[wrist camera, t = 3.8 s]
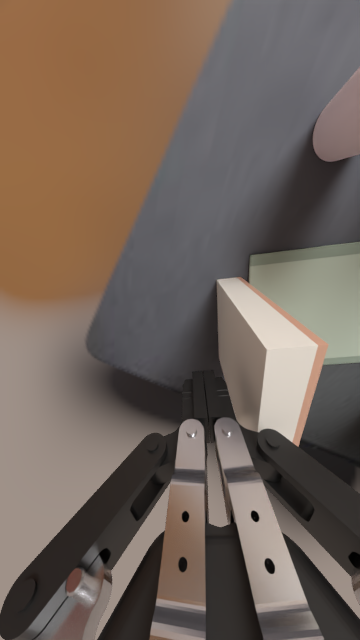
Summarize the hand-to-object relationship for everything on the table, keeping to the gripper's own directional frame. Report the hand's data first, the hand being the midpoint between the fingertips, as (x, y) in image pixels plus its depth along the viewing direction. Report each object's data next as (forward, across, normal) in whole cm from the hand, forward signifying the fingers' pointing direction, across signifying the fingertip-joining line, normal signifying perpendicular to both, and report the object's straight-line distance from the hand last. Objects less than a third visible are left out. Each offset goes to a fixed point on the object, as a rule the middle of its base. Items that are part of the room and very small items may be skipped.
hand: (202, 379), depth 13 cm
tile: (+8, -4, 0) cm, 9 cm away
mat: (+8, -14, 0) cm, 16 cm away
